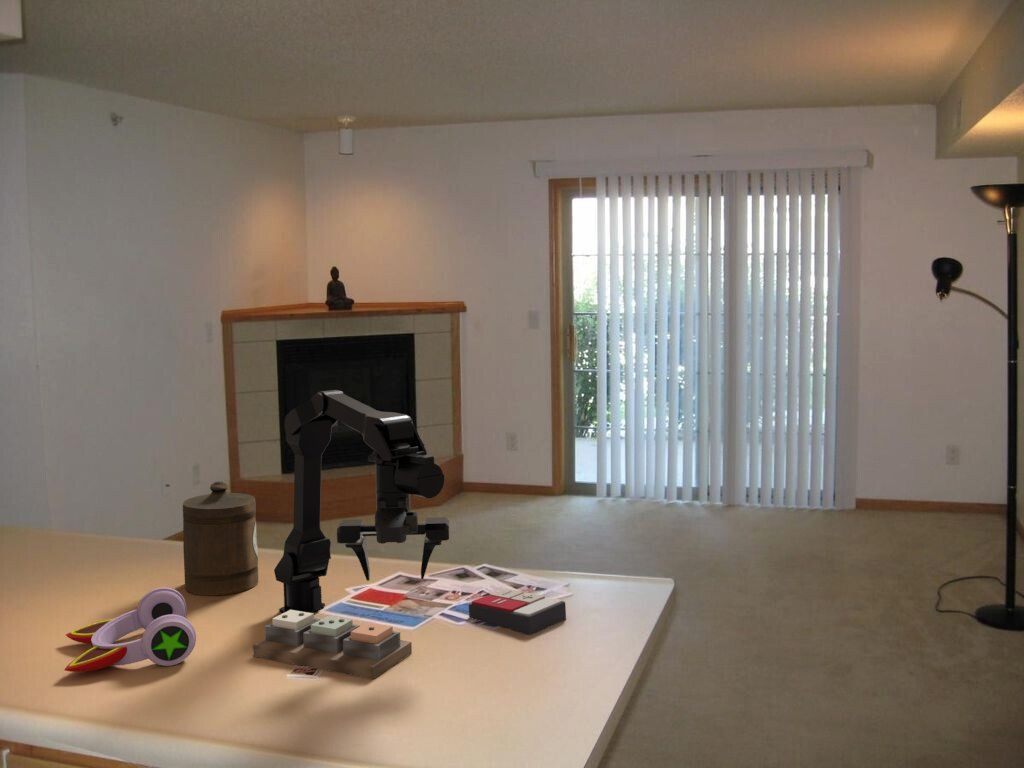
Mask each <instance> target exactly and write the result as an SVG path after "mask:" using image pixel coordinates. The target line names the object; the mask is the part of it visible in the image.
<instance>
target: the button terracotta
mask: <svg viewBox="0 0 1024 768" xmlns="http://www.w3.org/2000/svg"><path fill="white" fill-rule="evenodd" d="M393 631H394V629H393V626H392V625H387V624H381V623H376V622H375V623H374V622H369V621H368V622H365V623H364V624H361V625H360V627H358V628H356V629H355V630H353V631H351V640H356V641H362V642H367V643H373V644H378V643H380V642H381V641H383V640H385V639H386V638H388V637H389V636H391V635H393Z"/></svg>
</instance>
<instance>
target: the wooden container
mask: <svg viewBox="0 0 1024 768" xmlns="http://www.w3.org/2000/svg"><path fill="white" fill-rule="evenodd" d="M209 489H210V491H211V493H209V494H203V495H197V496H193V497H189V498H187V499H186V500H184V501H183V502H182V521H183V522H182V523H183V524H182V527H183V529H182V530H183V531H182V533H183V541H182V542H183V543H182V545H183V573H184V589H185V590H186V591H187V592H188V593H190V594H194V595H198V596H203V597H204V596H205V597H207V596H208V597H209V596H212V597H215V596H217V597H218V596H227V595H232V594H233V595H234V594H238V593H241V592H246V591H248V590H251V589H253V588H254V587H256V586H257V585H258V584H259V556H258V555H259V554H258V552H259V551H258V539H257V538H258V536H257V520H256V519H257V517H256V513H257V511H256V509H257V507H256V506H257V505H256V502H257V501H256V497H255V496H254V495H251V494H247V493H240V492H227V490H228V489H229V486H228V484H226V483H225V482H223V481H222V480H220V481H214V482H213V483H211V484H210V487H209Z"/></svg>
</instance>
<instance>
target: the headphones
mask: <svg viewBox="0 0 1024 768" xmlns="http://www.w3.org/2000/svg"><path fill="white" fill-rule="evenodd" d="M187 609H188V608H187V603H186V600H185V598H184V596H183V594H181V593H180V591H178V590H176V589H174V588H171V587H164V586H163V587H156V588H154V589H151V590H149V591H148V592H146V593H145V595H143V596H142V598H141V599H140V601H139V602H138V604H137V608H136V609H133V610H130V611H127V612H125V613H123V614H121V615H119V616H117V617H114V618H109V619H105V620H101V621H98V622H95V623H91V624H89V625H86V626H83V627H80V628H77V629H74V630H73V631H70V632H68V633H66V634H65V636H66V637H67V638H68V639H70V640H72V641H75V642H78V643H81V644H88V645H92V647H91V648H89V649H88V650H86V651H84V652H83V653H82V654H80V655H78V656H77V657H76V658H75V659H73V660H72V661H71V662H69V663H68V664H67V665H66V666H65V668H64V669H63V670H64V671H67V672H73V673H80V672H83V673H84V672H89V671H90V672H91V671H96V670H100V669H105V668H107V667H110V666H124V665H125V666H126V665H131V664H135V663H138V662H143V661H145V660H150V662H152V663H154V664H156V665H158V666H159V665H160V666H166V667H167V666H173V665H174V666H175V665H178V664H179V663H181V662H183V661H185V659H187V658H188V657H189V656H190V655H191V654H192V652H193V651H194V648H195V646H196V642H197V635H196V630H195V627H194V625H193V624H192V622H190V620H189V619H187V618H186V616H187V612H188V611H187ZM140 629H144V631H143V633H142V634H143V635H142V638H138V639H135V640H130V641H128V642H122V643H115V642H117V640H118V641H119V639H121V638H122V637H125V636H126V635H129V634H130V633H133V632H135V631H138V630H140Z"/></svg>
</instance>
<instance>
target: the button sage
mask: <svg viewBox="0 0 1024 768" xmlns="http://www.w3.org/2000/svg"><path fill="white" fill-rule="evenodd" d="M320 619H321V620H319V621H317V622H315V623H314V624H312V625H311V633H315V634H321V635H327V636H333V637H337V636H339V635H341V634H342V633H344V632H346V631H348V630H349V629H351V628H353V625H354V624H353V619H350V618H345V617H344V618H343V617H338V616H332V615H327V616H325V617H324V618H323V617H322V618H320Z"/></svg>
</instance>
